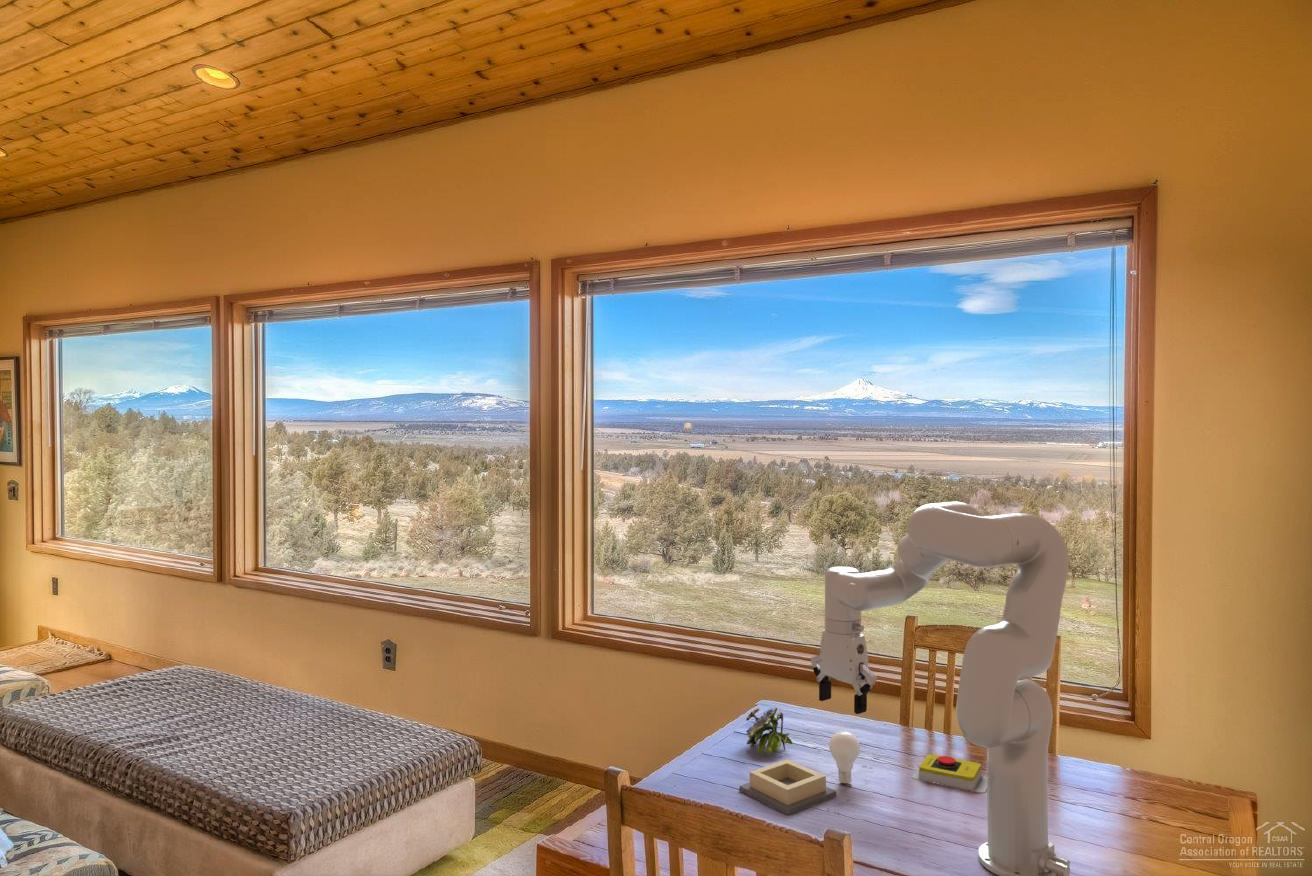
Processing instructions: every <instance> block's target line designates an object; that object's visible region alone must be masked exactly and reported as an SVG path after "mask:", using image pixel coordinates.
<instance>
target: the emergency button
mask: <svg viewBox="0 0 1312 876" xmlns="http://www.w3.org/2000/svg"><path fill="white" fill-rule="evenodd" d="M981 765H982V764H981V763H980V762H975V761H969V760H965V759H960V758H955V757H953V756H947V755H939V754H933V753H928V754H927V755H926V757H924V759H923V760H922V762H921V763H920V764H919V766H918V768H917V769H916V770H915V772H913V774H912V776H911V778H912V779H913V780H916V781H921V782H926V783H930V782H935V783H939V784H938V785H940V784H943V785H942V786H944V785H947V786H946V787H949V786H950V787H951V788H954V787H955V788H954V789H960V790H963V789H966V790H965V791H968V790H971V791H970V792H973V791H975V792H974V793H978V794H979V793H980V794H986V793H987V777H985V776H986V775H985V776H984V777H982V775H983V774H982V766H981ZM935 783H934V784H935ZM950 787H949V788H950Z"/></svg>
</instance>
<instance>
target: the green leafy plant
mask: <svg viewBox="0 0 1312 876" xmlns="http://www.w3.org/2000/svg"><path fill="white" fill-rule="evenodd" d="M759 711H760V708H759V707H758V708H755V709H754V710H753V711H750V713H749V715H748V716H747V717H746V720H745V721H749V720H750V719H752V718H754V719H755V722H753V725H751V726H750V727H749V728H748V729H747V730H746V731H745V732H746V736H748V737H747V738H749V739H748V740H747V741H746V745H748V746H749V745H751V746H755V745H756V744H757V743H758V744H757V745H758V746H757V754H758V755H759V756H760V758H763V757H764V756H763V755H764V751H765V754H766V756H769V755H771V754H772V753H776V752H778V750H779V749H780V748H781V746H783V749H784V750H786V744H788V745H793V741H792V739H791V738H790V737H789V735H790V733H787V732H786V733H784V732H783V727H784V725H783V724H784V714H783V713H782V711H781V710H779V712H778V713H777V711H778V707H774V709H772V708H771V709H769V710H767V711H766V712H764V713H763V715H760V717H757V716H756V714H757V713H758V712H759ZM776 713H777V715H776ZM779 720H781V723H780V732H778V730H777V728H778V725H779V722H778V721H779ZM766 731H768V732H766ZM764 732H765V733H764Z"/></svg>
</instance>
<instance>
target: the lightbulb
mask: <svg viewBox="0 0 1312 876" xmlns="http://www.w3.org/2000/svg"><path fill="white" fill-rule="evenodd" d="M828 746H829V748H828V749H829V752H830V754H831V756H832V758H833V759H834V761H835V762H836V763H835V765H836V767H837V772H838V776H837V777H838V782H839V783H841V784H842V785H848V784H850V783H852V770H853V767H854V763H855V761H856V760H857V758H858V756H859V755H860V751H861V750H860V749H861V745H860V742H859V739H858V737H856V735H855V734H854V733H852V732H850V731H848V730H840V731H837V732H835V733H834V734H833V735H832V736H831V738H830V741H829V743H828Z"/></svg>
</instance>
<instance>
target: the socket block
mask: <svg viewBox="0 0 1312 876" xmlns="http://www.w3.org/2000/svg"><path fill="white" fill-rule="evenodd" d="M739 791H740V792H742V793H743V794H746V795H747V796H749V797H751V798H754V799H755V800H757V801H759V802H762V803H763V804H764V805H766V806H767V805H768V806H769V807H771V808H773V809H775V810H777V811H778V812H780V813H783V814H785V815H787V816H788V815H791V814H794V813H796V812H800V811H802V810H804V809H807V808H809V807H812V806H815V805H817V804H819V803H822V802H825V801H827V800H830V799H833V798H834V797H837V790H836V789H833V788H830V787H829V786H827V776H826V775H824V774H822V773H820V772H817V771H815V770H814V769H812V768H811V769H810V768H808V767H805V766H804V765H801V764H799V763H797V762H794V761H792V760H789V759H788V758H786V759H785V760H781V761H778V762H775V763H773V764H769V765H767V766H766V765H765V766H763V767H760V768H757V769H755V770H751V771H749V782H746V783H744V784H741V785H739Z"/></svg>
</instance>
